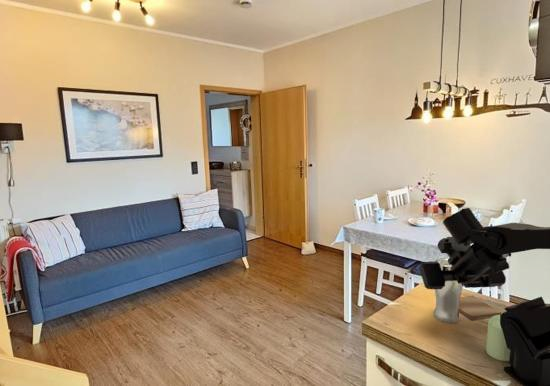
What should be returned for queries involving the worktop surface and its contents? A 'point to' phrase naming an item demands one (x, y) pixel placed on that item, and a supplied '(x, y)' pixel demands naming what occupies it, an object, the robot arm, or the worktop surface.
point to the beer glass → (447, 298)
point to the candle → (496, 340)
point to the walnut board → (476, 308)
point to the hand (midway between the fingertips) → (447, 286)
